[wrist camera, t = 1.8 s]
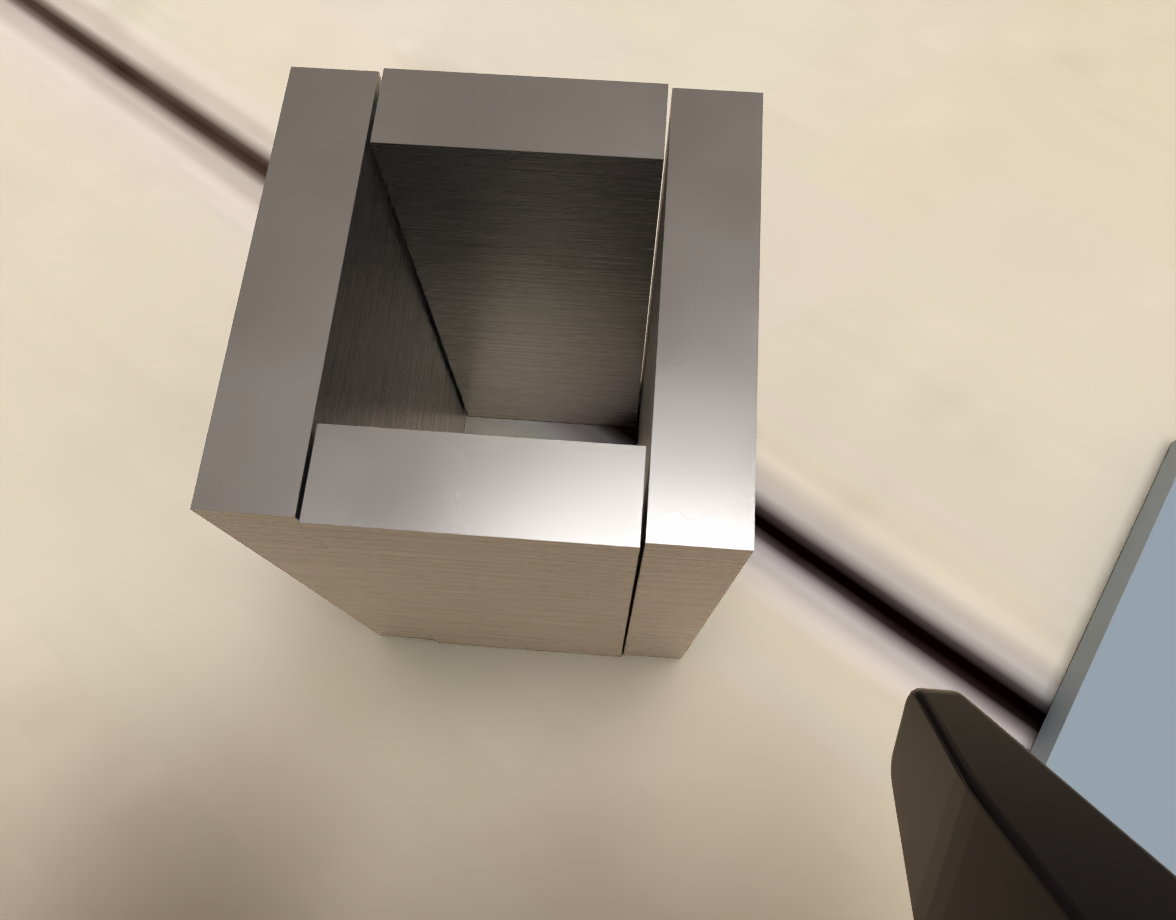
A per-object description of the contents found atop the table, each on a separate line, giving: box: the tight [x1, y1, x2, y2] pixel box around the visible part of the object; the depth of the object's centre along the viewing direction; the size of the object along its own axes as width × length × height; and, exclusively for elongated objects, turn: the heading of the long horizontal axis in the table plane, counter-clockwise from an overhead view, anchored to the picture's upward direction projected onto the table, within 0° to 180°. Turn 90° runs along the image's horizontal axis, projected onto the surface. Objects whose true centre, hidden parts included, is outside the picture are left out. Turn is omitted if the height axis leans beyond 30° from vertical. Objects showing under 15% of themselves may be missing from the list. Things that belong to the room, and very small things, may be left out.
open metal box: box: [190, 67, 763, 658], centre depth 17 cm, size 7×7×10 cm
